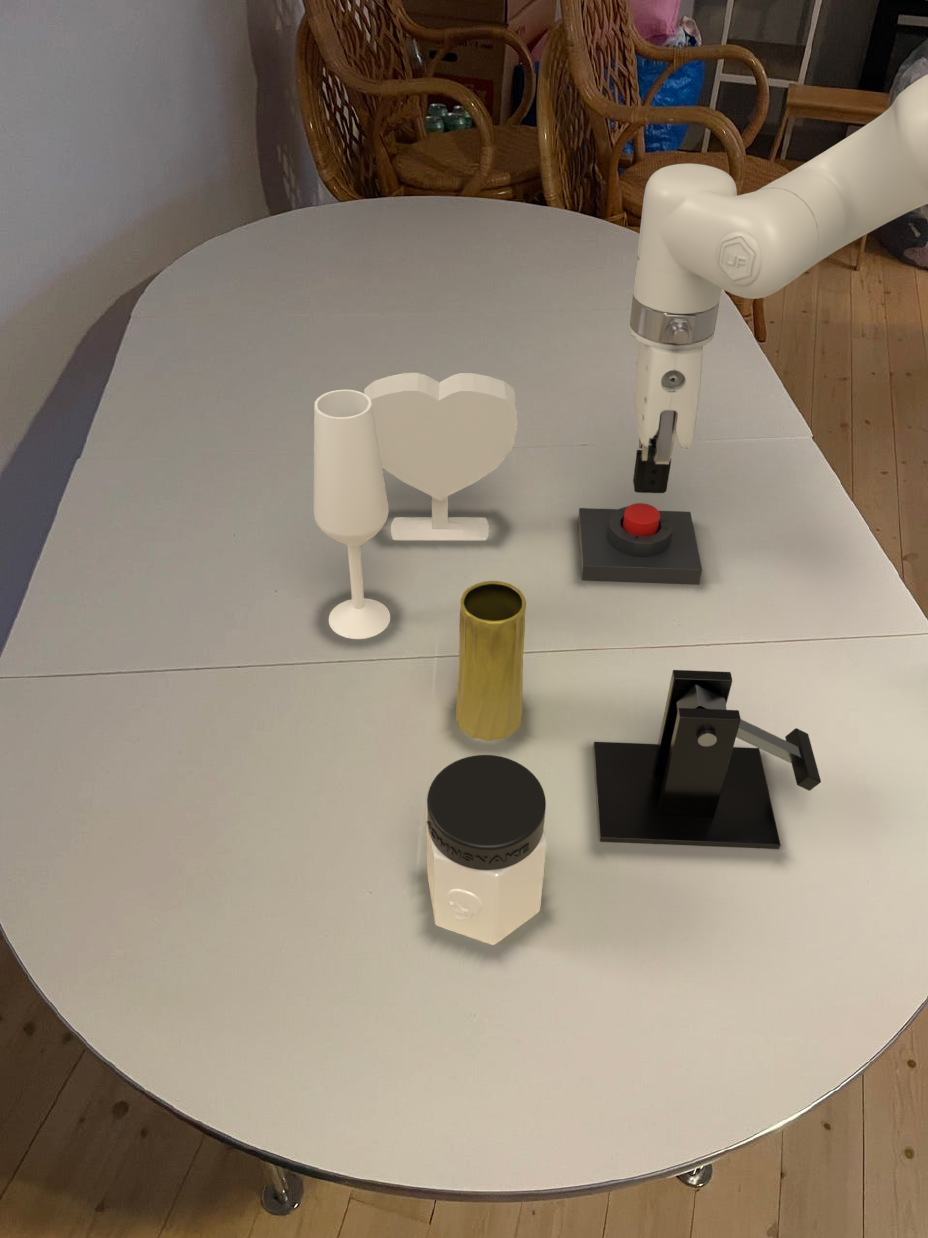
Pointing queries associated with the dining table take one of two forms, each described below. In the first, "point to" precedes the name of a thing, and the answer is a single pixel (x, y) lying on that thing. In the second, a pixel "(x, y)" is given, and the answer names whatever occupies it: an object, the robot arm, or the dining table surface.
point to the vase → (491, 660)
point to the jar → (485, 846)
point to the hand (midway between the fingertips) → (649, 488)
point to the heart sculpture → (442, 442)
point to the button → (641, 519)
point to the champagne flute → (350, 498)
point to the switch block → (637, 549)
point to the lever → (764, 738)
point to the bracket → (686, 779)
